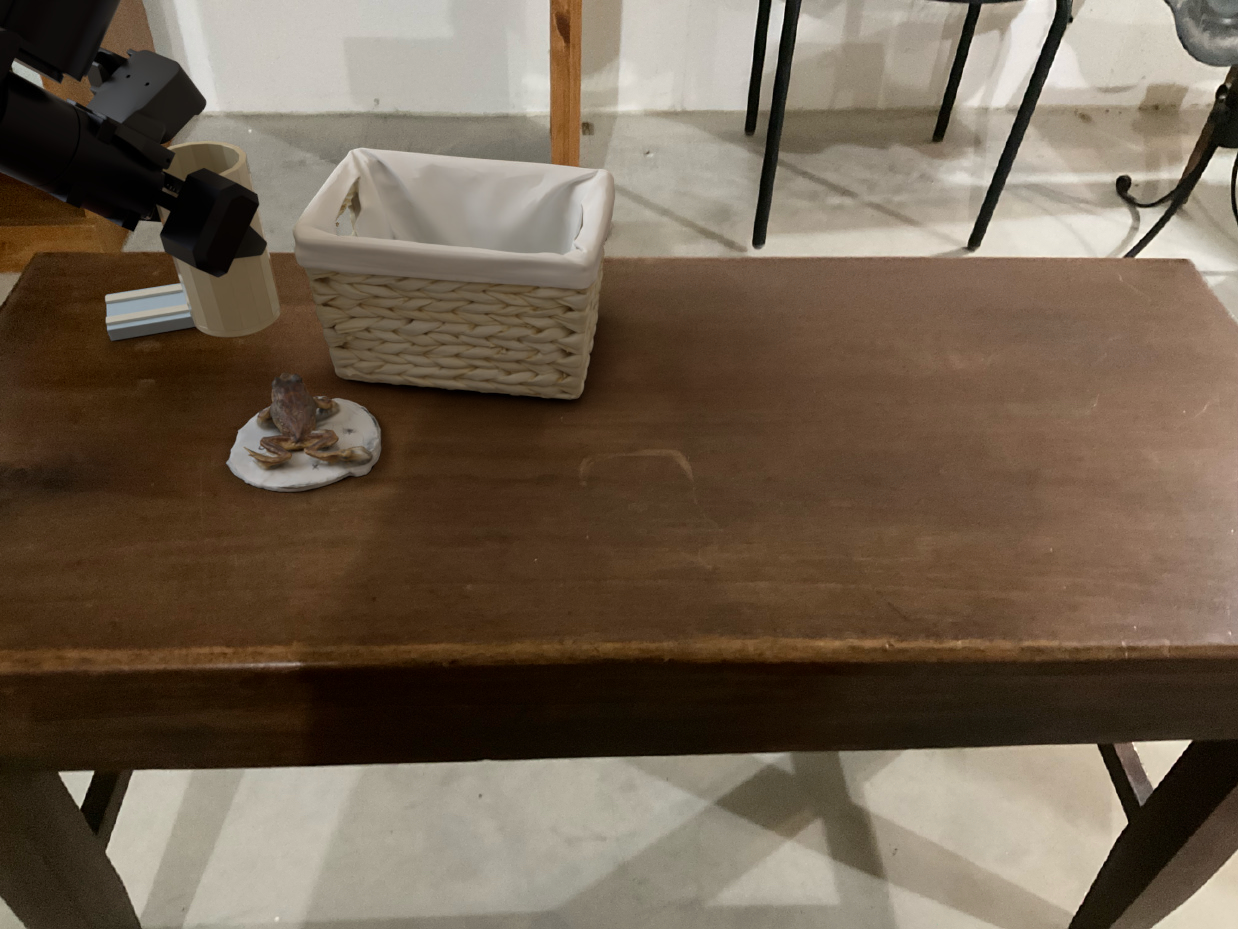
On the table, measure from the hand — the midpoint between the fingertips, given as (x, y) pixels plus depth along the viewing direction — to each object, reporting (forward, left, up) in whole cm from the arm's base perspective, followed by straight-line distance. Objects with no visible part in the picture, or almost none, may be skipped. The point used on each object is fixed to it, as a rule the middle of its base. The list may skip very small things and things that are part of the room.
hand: (232, 233), depth 74 cm
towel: (-7, +12, -13) cm, 19 cm away
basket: (+18, -2, -14) cm, 22 cm away
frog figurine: (+2, -10, -14) cm, 17 cm away
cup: (-1, -1, -7) cm, 7 cm away
